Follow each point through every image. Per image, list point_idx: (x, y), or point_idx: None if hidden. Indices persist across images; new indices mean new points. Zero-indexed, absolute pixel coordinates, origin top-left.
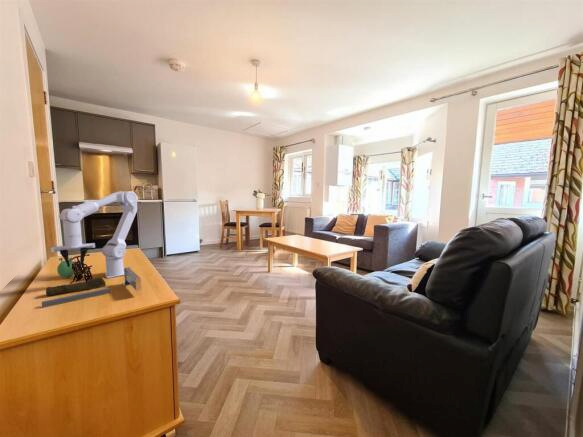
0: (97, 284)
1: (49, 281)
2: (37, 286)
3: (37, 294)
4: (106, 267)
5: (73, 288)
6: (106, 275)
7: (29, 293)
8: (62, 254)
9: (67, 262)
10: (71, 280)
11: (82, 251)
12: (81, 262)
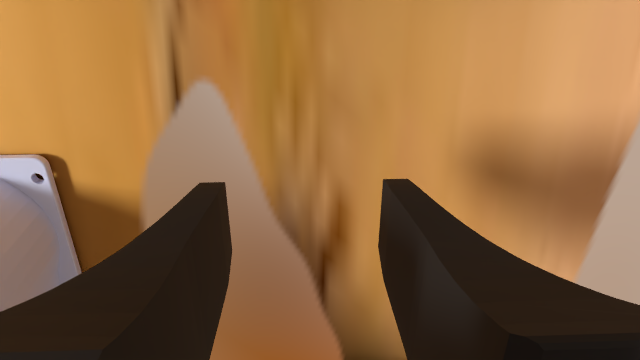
0: None
1: None
2: None
3: (601, 43)
4: (3, 284)
5: None
6: (58, 231)
7: (634, 126)
8: (632, 316)
9: (431, 209)
10: (339, 289)
11: (53, 339)
12: (206, 197)
